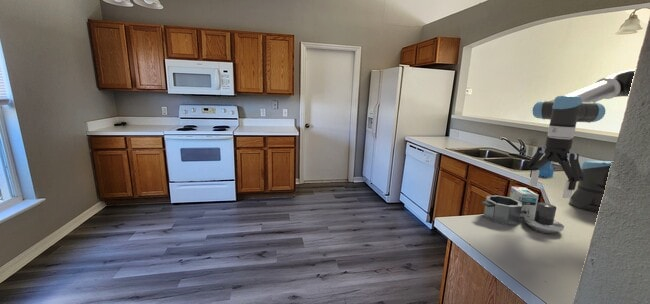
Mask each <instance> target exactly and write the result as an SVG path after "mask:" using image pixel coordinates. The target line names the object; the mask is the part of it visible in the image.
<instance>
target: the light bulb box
mask: <svg viewBox="0 0 650 304" xmlns="http://www.w3.org/2000/svg"><path fill="white" fill-rule="evenodd" d="M509 193H510V194H509V198H513V199H515V200H519V201H521V202H524V203H525V205H522V208H521V214H520V218H521V217H523V218H524V217H525V216H528V215H534V216H535V212H536V207H537V203H539V201H538V200H539V196H540V194H538V193H535V192H533V191H532V190H530V189H528V187H521V186H511V187H510V192H509Z"/></svg>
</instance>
